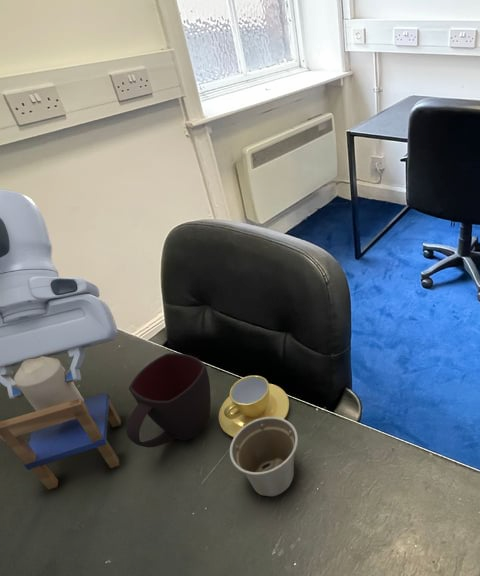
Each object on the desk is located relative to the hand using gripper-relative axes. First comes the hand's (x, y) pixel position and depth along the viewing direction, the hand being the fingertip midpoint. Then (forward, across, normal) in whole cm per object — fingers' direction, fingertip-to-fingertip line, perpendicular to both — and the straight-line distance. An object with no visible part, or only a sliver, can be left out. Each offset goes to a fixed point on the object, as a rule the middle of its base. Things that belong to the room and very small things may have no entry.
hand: (47, 389), depth 63 cm
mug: (+13, +14, +8) cm, 21 cm away
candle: (+4, 0, +4) cm, 6 cm away
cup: (+13, +26, +7) cm, 30 cm away
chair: (+11, 0, +10) cm, 15 cm away
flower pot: (+23, +26, -2) cm, 35 cm away
